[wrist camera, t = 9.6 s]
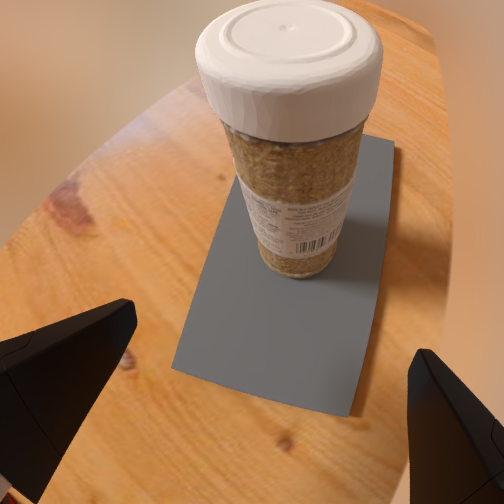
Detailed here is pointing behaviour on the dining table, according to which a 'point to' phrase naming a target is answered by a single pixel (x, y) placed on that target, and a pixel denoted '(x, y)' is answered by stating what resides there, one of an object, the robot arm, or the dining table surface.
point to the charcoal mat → (292, 303)
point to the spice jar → (293, 118)
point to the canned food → (11, 500)
